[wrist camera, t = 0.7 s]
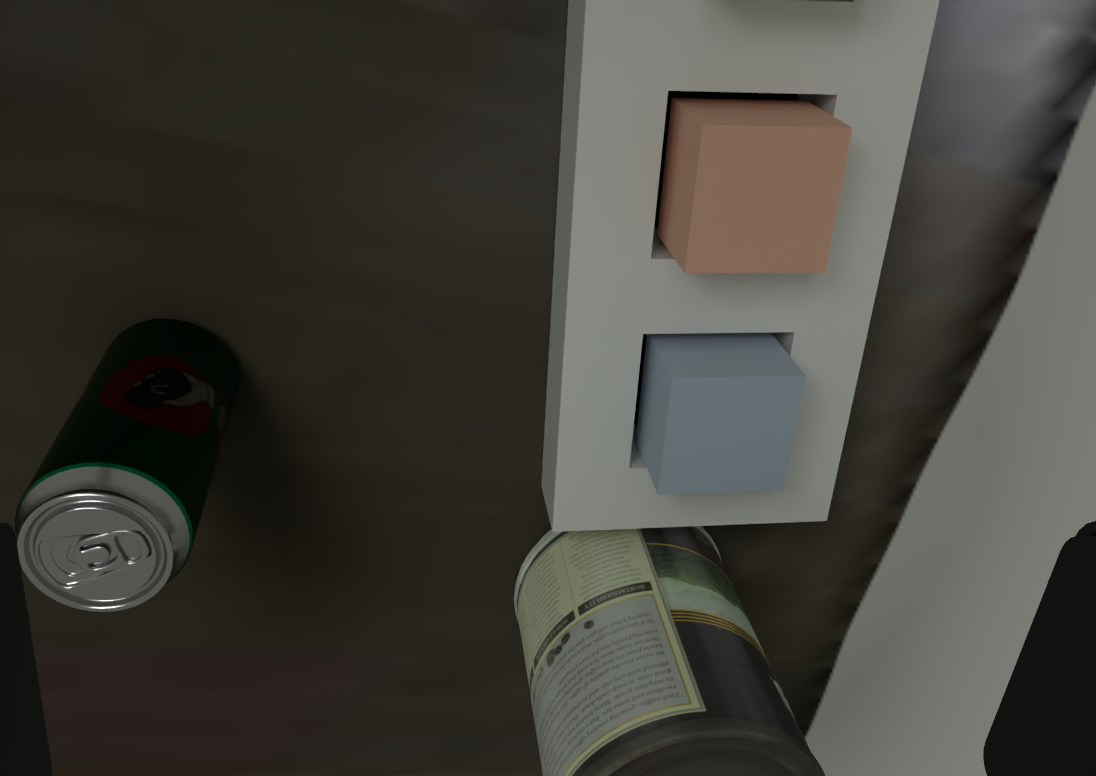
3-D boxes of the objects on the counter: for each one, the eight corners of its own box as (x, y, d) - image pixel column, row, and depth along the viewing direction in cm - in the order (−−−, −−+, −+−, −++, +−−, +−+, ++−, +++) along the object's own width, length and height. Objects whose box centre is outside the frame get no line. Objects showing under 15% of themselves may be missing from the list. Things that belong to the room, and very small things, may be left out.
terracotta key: (671, 97, 35) (702, 124, 32) (807, 101, 36) (852, 127, 32) (657, 234, 38) (684, 272, 34) (785, 234, 38) (824, 272, 35)
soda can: (85, 328, 39) (-31, 506, 28) (214, 299, 39) (148, 464, 28) (135, 438, 41) (47, 639, 30) (257, 409, 41) (210, 600, 31)
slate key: (647, 331, 39) (671, 377, 36) (769, 330, 40) (805, 375, 37) (635, 441, 42) (658, 494, 38) (751, 437, 42) (783, 490, 39)
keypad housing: (587, -335, 31) (608, -355, 28) (951, -303, 33) (1008, -320, 29) (541, 485, 45) (552, 531, 42) (798, 476, 46) (826, 520, 43)
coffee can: (737, 495, 47) (861, 726, 34) (706, 663, 51) (805, 920, 39) (516, 499, 45) (563, 744, 33) (505, 673, 50) (543, 943, 37)
